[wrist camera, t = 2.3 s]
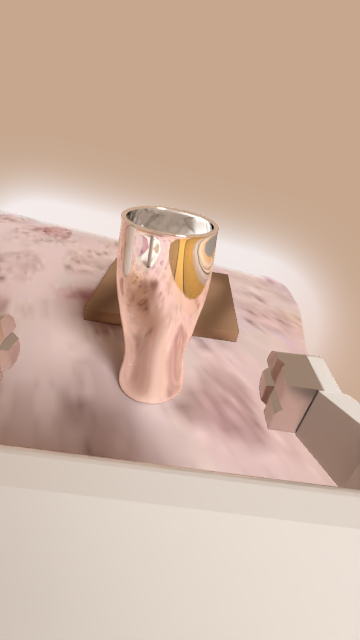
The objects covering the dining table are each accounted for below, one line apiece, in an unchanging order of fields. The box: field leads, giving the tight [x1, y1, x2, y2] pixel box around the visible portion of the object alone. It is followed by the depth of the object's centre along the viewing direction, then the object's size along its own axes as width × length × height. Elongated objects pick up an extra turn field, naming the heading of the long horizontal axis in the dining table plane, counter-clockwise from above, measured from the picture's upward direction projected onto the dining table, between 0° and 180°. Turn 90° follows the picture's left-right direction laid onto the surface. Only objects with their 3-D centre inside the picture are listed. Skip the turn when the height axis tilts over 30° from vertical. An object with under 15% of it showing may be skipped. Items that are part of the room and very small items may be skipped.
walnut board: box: [84, 258, 239, 342], centre depth 41 cm, size 18×16×2 cm
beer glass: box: [116, 206, 219, 404], centre depth 24 cm, size 7×7×15 cm
